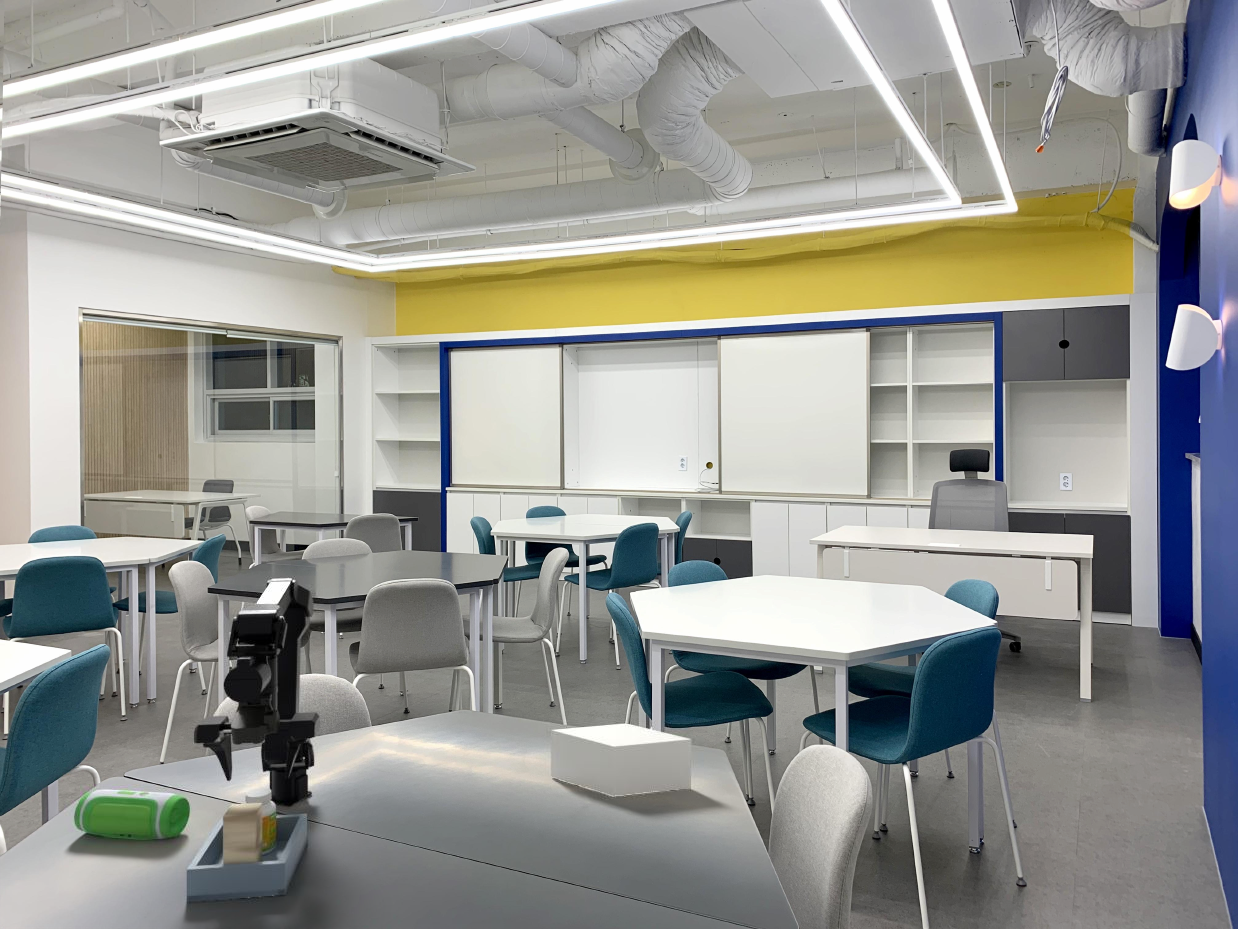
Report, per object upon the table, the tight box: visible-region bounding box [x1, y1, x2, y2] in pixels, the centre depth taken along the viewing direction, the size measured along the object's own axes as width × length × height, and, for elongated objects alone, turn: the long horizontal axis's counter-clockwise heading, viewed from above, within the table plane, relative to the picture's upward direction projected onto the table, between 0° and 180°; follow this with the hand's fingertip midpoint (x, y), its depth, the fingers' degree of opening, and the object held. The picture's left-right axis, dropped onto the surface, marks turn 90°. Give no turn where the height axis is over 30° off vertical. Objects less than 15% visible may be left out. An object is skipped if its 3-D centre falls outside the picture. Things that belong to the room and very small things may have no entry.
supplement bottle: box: [244, 787, 277, 855], centre depth 145 cm, size 5×5×10 cm
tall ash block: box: [222, 803, 262, 864], centre depth 135 cm, size 5×5×11 cm
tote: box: [186, 813, 308, 904], centre depth 140 cm, size 18×14×5 cm
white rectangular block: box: [550, 723, 692, 796], centre depth 178 cm, size 14×29×10 cm, turn 80°
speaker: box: [73, 789, 191, 841], centre depth 153 cm, size 18×7×8 cm, turn 83°
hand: (258, 778), depth 145 cm, fingers open, 9 cm apart
